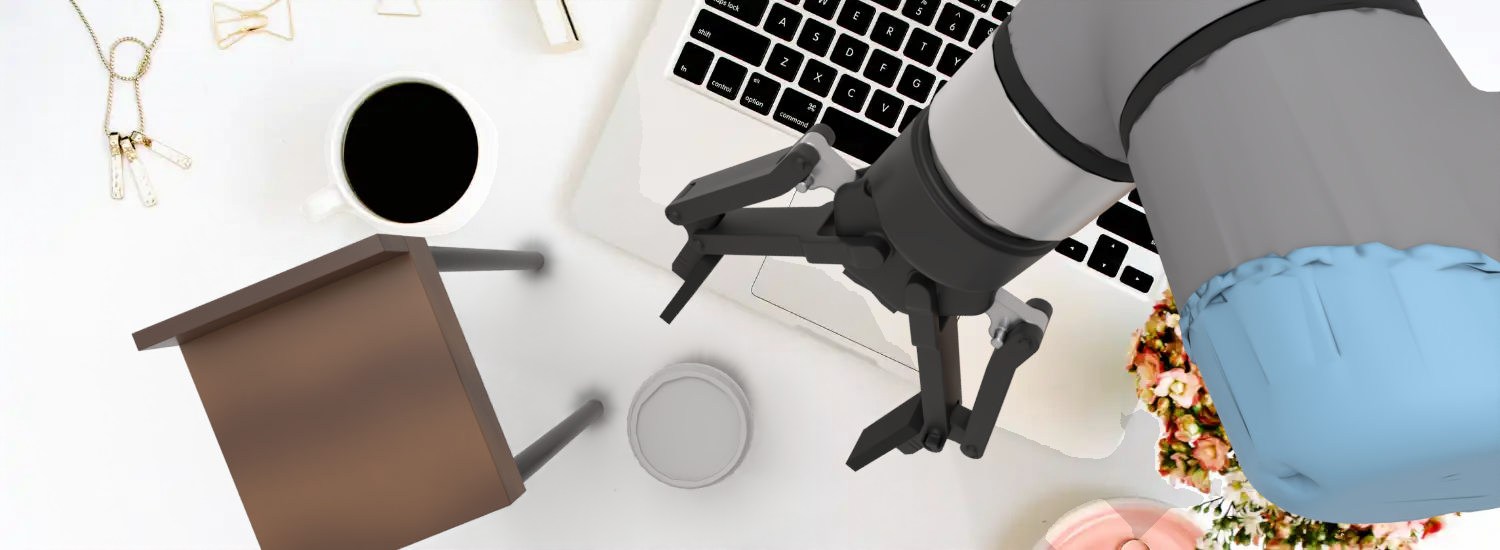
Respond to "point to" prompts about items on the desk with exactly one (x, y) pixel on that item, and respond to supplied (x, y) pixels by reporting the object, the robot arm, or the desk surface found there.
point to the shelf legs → (519, 260)
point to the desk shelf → (347, 401)
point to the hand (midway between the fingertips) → (767, 378)
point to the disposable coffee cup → (690, 425)
